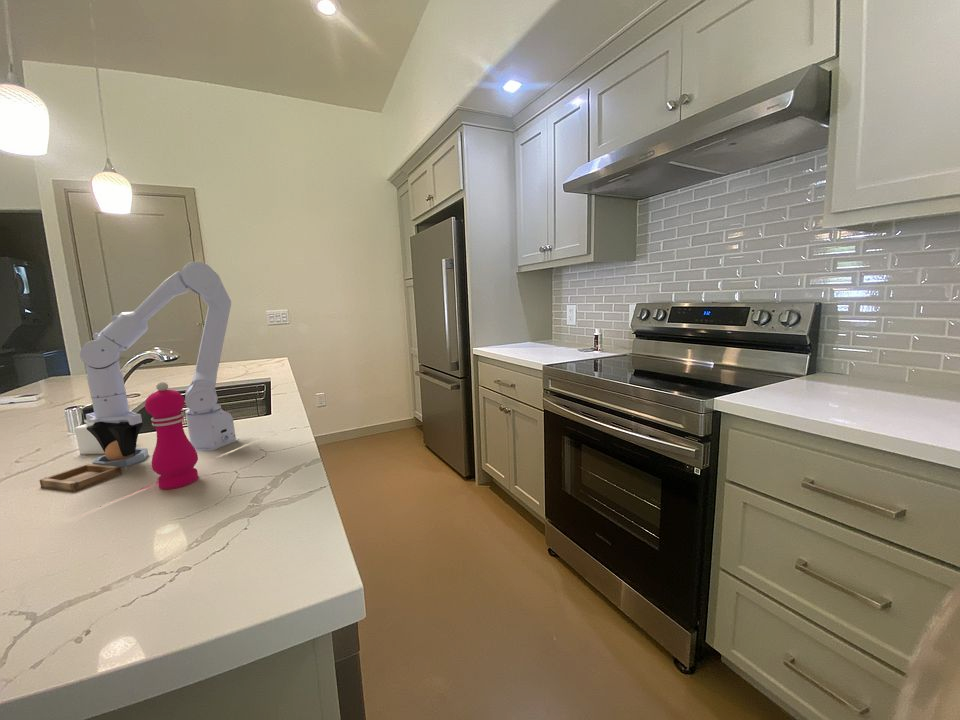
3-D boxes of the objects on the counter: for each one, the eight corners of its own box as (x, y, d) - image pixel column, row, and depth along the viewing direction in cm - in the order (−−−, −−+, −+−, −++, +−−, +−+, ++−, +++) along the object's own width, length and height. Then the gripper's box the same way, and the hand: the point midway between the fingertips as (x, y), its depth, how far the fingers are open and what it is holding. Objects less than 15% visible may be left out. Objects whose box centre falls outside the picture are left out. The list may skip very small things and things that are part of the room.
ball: (141, 458, 94) (137, 437, 93) (117, 466, 89) (112, 444, 88) (126, 456, 95) (122, 435, 94) (101, 465, 90) (97, 443, 90)
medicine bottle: (133, 444, 105) (125, 399, 104) (106, 455, 98) (96, 406, 97) (108, 445, 106) (99, 400, 104) (79, 455, 99) (69, 407, 97)
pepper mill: (177, 491, 76) (158, 386, 73) (145, 490, 78) (126, 386, 75) (210, 475, 83) (194, 378, 80) (180, 473, 85) (163, 378, 82)
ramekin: (156, 457, 95) (155, 449, 95) (113, 473, 87) (111, 464, 86) (130, 455, 98) (128, 447, 97) (85, 470, 89) (84, 461, 89)
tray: (122, 475, 85) (120, 466, 85) (75, 494, 78) (72, 484, 77) (90, 472, 88) (88, 463, 88) (41, 489, 81) (39, 479, 80)
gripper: (64, 398, 88) (77, 458, 90) (110, 400, 84) (123, 463, 86) (102, 390, 95) (113, 447, 97) (147, 391, 90) (158, 450, 93)
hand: (120, 453), depth 92 cm, fingers closed on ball, 5 cm apart
